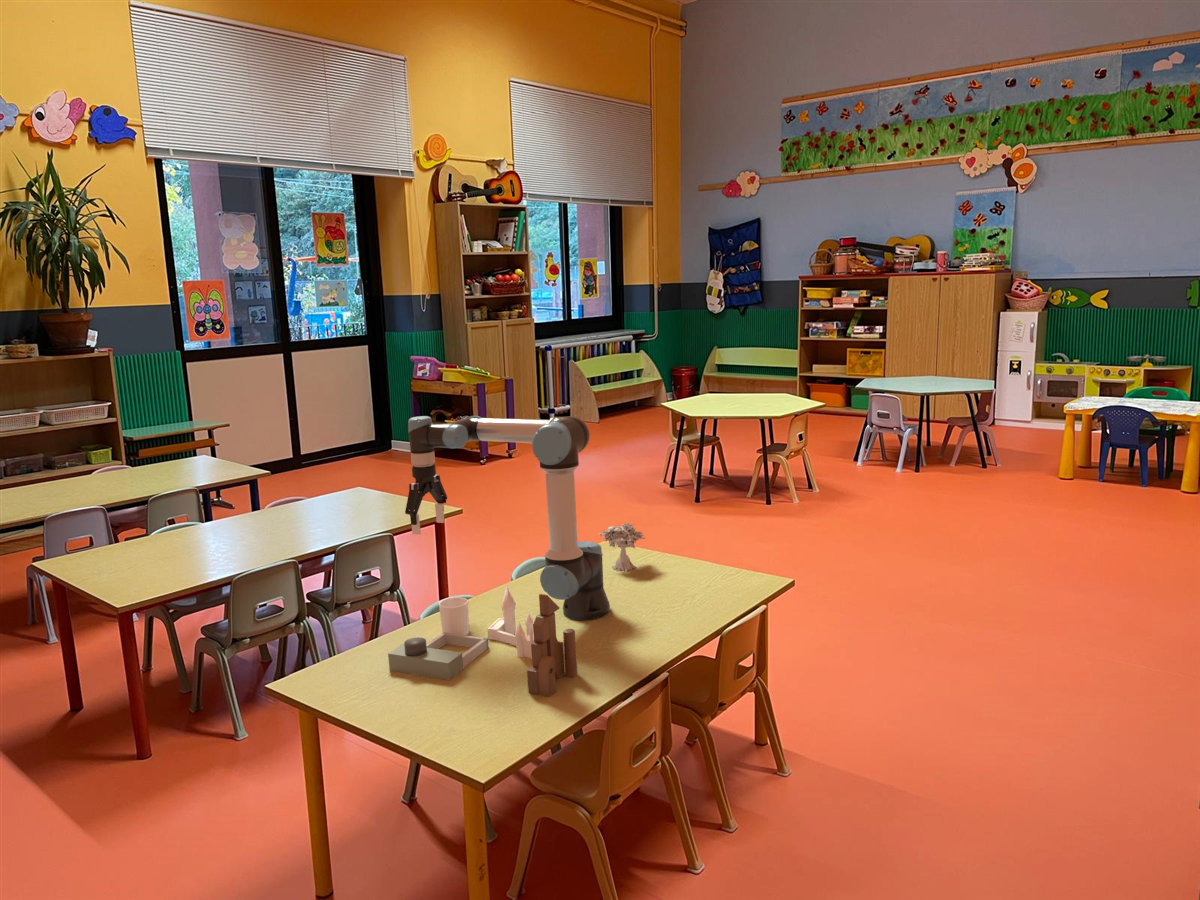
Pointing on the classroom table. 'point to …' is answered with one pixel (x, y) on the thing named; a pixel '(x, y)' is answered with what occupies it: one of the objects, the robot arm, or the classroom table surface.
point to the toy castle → (512, 628)
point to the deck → (436, 655)
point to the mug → (454, 615)
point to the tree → (622, 543)
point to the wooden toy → (550, 651)
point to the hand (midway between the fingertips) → (428, 528)
